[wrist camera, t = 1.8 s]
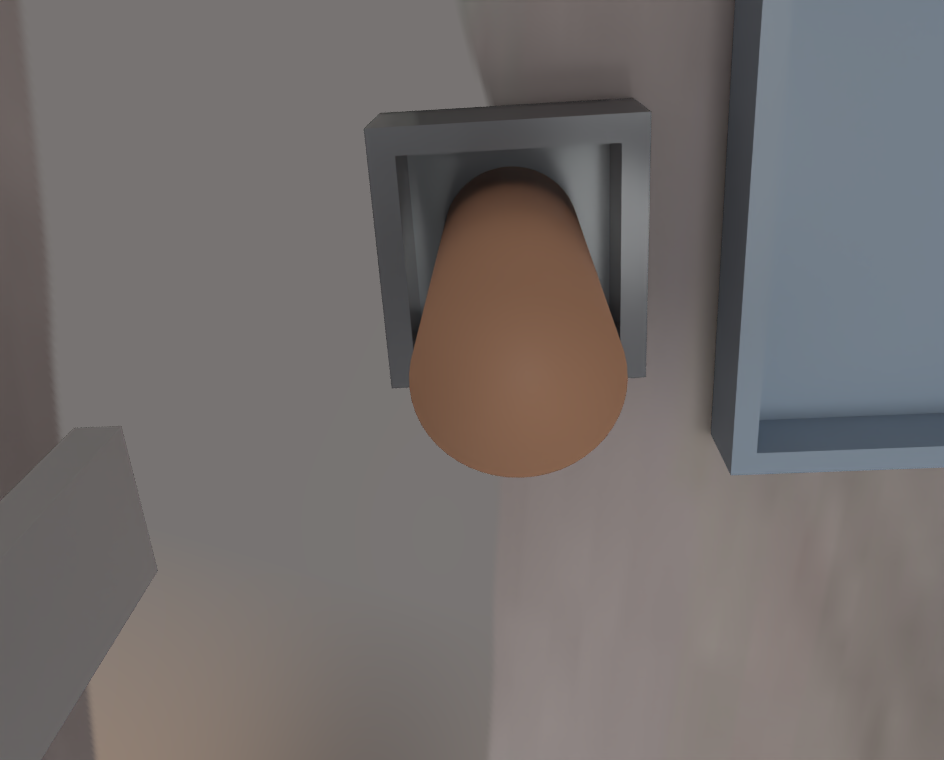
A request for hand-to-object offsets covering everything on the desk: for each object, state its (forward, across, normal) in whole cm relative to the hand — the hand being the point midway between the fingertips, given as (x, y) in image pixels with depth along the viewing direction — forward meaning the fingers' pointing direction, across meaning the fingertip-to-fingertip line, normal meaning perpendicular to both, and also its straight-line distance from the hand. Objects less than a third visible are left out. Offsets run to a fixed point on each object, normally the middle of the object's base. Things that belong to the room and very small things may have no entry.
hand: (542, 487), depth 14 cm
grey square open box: (+17, 0, 0) cm, 17 cm away
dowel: (+16, 0, 0) cm, 16 cm away
